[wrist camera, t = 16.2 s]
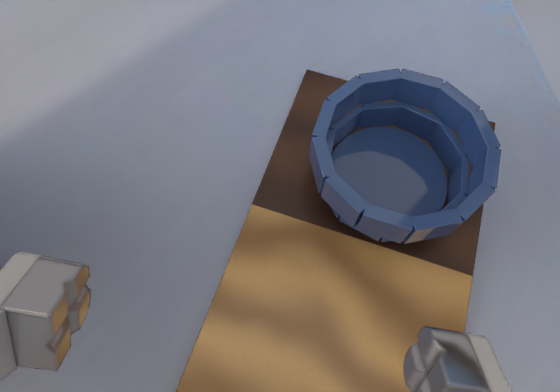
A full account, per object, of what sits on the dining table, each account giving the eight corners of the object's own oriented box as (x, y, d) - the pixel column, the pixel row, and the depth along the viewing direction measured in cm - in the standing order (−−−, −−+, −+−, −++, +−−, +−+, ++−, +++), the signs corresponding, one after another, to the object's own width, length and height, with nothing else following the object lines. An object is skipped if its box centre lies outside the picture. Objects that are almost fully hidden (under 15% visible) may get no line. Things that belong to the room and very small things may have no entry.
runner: (428, 556, 26) (431, 559, 25) (155, 445, 28) (153, 446, 27) (470, 277, 33) (472, 275, 33) (252, 205, 35) (252, 203, 35)
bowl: (275, 173, 36) (276, 133, 30) (380, 91, 40) (398, 43, 34) (391, 290, 32) (417, 268, 26) (496, 187, 36) (536, 149, 30)
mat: (470, 277, 33) (472, 276, 33) (252, 205, 35) (252, 203, 35) (493, 125, 39) (495, 122, 39) (306, 72, 41) (307, 69, 41)
